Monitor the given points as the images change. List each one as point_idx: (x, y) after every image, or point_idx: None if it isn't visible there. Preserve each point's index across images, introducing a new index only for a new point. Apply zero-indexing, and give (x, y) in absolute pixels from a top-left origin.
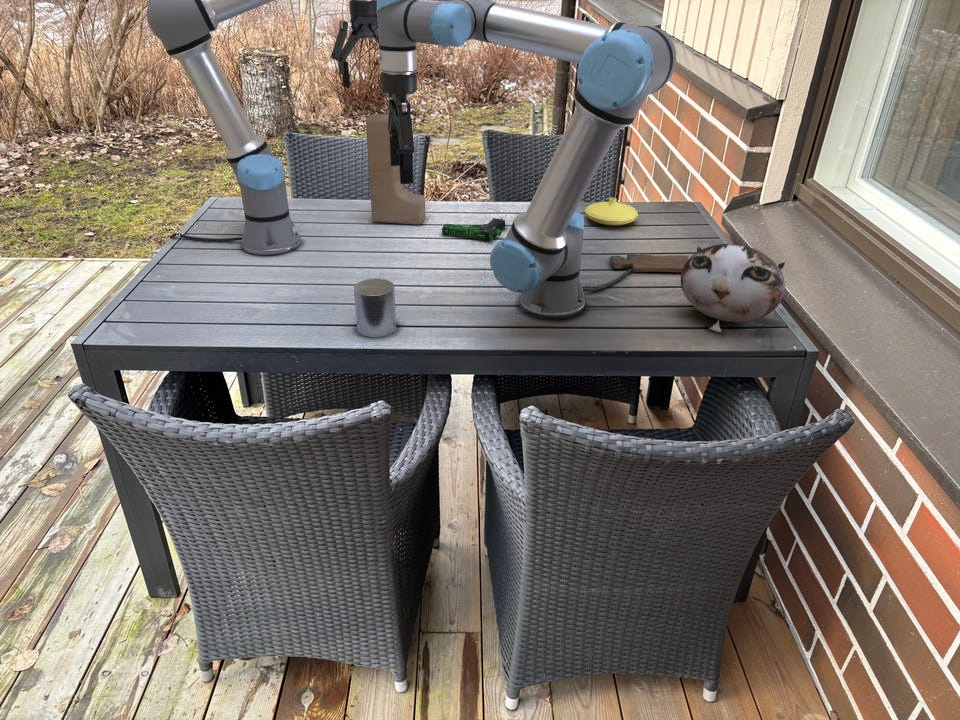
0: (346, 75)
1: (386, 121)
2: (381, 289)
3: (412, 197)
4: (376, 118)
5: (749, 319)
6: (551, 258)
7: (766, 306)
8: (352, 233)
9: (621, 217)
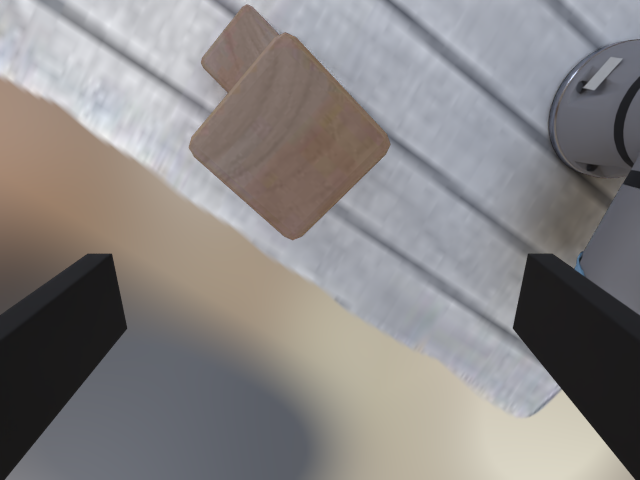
0: (628, 311)
1: (306, 49)
2: None
3: (247, 50)
4: (338, 116)
5: None
6: None
7: None
8: (427, 73)
9: None
